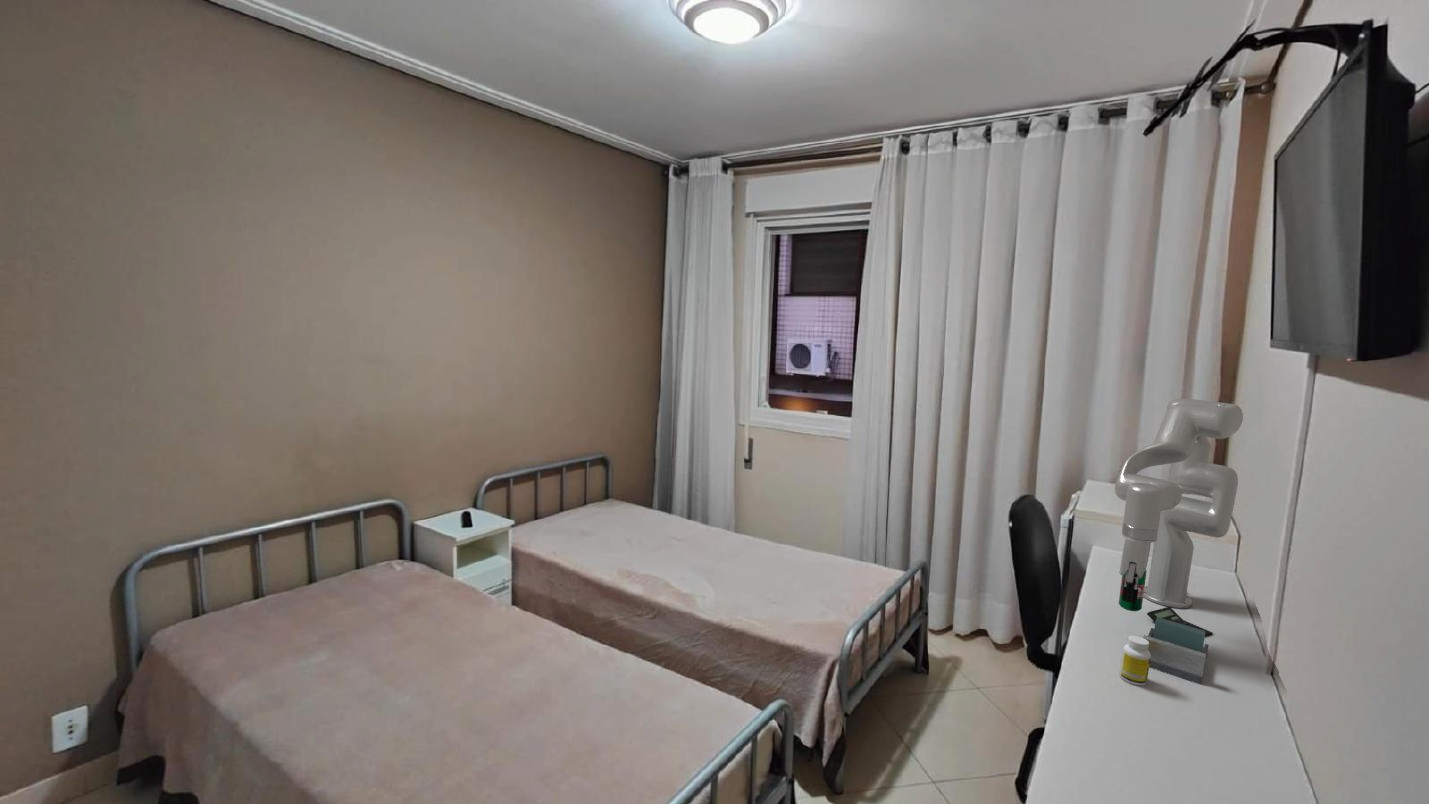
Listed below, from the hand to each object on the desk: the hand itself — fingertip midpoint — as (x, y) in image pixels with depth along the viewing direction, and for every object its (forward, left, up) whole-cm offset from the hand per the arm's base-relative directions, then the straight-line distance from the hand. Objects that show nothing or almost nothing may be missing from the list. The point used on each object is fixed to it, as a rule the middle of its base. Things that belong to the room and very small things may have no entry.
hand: (1131, 597), depth 166 cm
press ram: (-1, +11, -9) cm, 14 cm away
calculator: (-16, +10, -11) cm, 22 cm away
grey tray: (+5, +11, -11) cm, 16 cm away
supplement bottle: (+23, +5, -11) cm, 26 cm away
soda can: (0, 0, -3) cm, 3 cm away
